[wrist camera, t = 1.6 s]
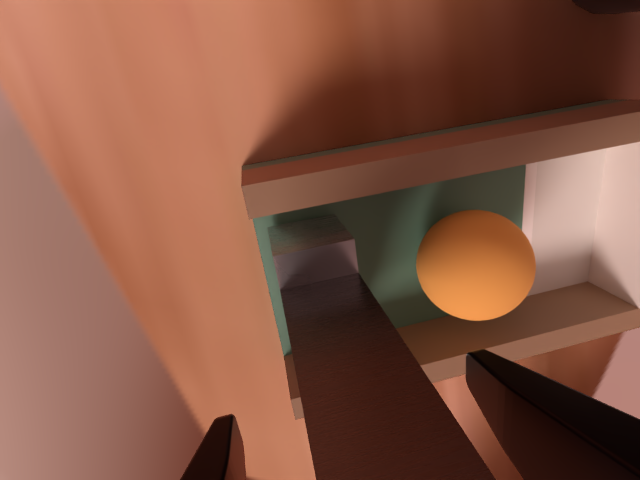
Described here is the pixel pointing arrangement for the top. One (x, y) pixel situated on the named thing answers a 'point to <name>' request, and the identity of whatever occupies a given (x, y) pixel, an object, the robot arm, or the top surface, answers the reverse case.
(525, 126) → the pitch
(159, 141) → the top surface
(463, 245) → the ball
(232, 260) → the top surface
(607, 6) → the coffee cup
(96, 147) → the top surface
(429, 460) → the block
